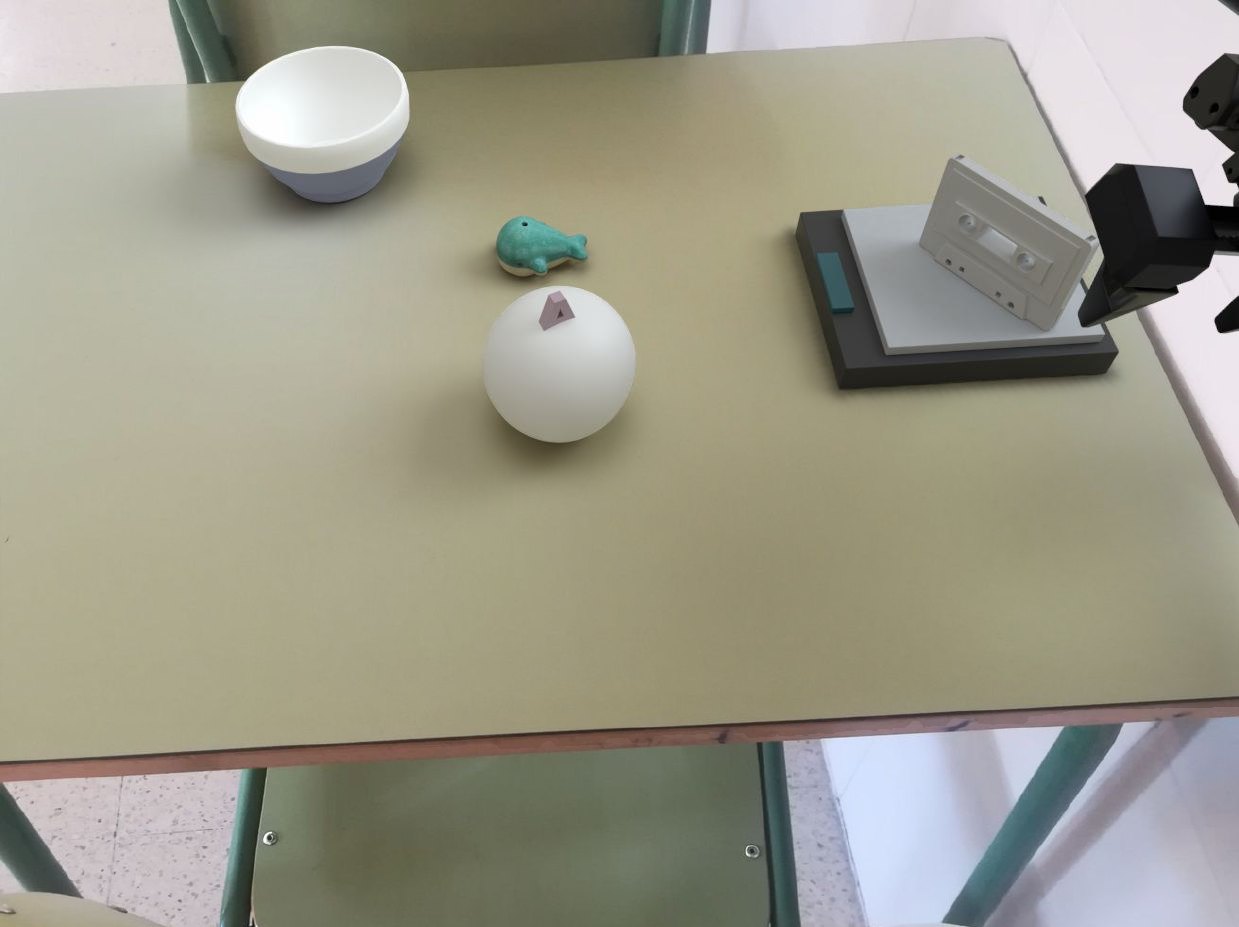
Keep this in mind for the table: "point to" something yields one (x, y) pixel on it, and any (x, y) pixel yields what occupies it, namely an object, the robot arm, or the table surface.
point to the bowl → (325, 120)
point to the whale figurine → (536, 247)
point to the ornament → (559, 363)
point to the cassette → (1006, 242)
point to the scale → (926, 309)
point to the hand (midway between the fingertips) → (1150, 323)
